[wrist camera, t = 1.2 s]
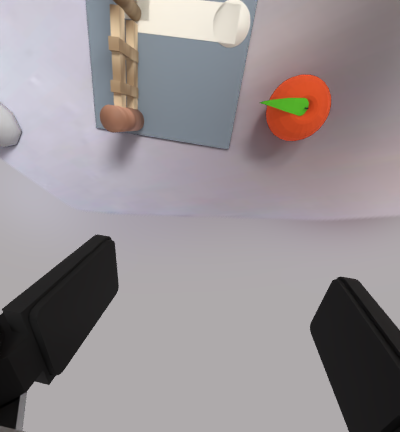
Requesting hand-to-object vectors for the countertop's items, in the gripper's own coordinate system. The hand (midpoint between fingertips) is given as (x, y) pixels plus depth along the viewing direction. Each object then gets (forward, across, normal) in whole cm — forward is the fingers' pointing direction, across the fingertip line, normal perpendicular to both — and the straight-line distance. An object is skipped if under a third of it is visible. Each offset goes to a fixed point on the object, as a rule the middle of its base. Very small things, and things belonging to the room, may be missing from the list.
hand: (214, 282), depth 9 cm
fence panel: (+24, +14, -10) cm, 30 cm away
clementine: (+25, -6, -9) cm, 27 cm away
